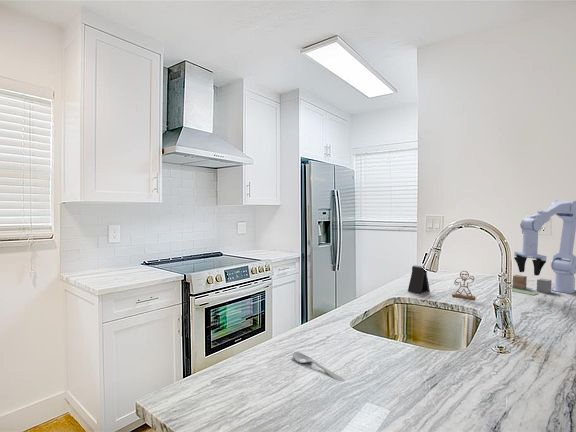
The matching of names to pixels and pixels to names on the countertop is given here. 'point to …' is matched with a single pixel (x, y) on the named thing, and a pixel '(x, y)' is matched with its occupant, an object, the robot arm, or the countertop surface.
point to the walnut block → (519, 281)
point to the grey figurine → (464, 289)
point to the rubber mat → (524, 292)
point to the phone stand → (418, 280)
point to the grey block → (544, 285)
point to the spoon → (299, 356)
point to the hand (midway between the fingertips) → (529, 273)
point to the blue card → (523, 289)
